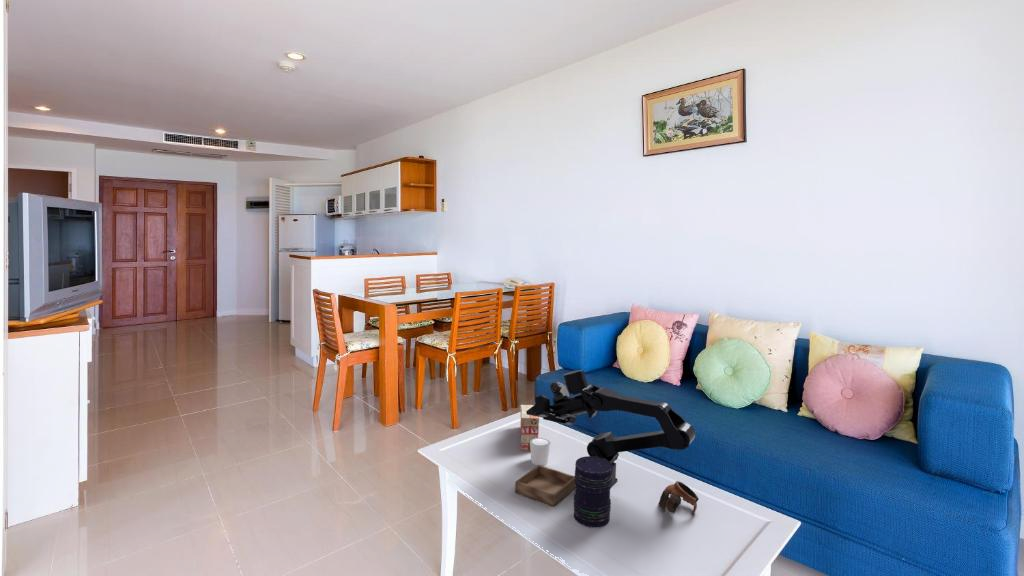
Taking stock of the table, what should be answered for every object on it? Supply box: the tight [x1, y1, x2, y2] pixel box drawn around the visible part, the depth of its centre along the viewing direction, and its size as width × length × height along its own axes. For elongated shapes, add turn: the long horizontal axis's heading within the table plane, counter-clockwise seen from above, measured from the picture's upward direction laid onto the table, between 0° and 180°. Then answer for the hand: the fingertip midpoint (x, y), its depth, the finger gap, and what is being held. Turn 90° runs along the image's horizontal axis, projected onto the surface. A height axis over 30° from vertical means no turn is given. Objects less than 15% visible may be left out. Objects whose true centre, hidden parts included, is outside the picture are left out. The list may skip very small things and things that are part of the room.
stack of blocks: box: [519, 404, 540, 452], centre depth 184 cm, size 21×6×12 cm, turn 179°
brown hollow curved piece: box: [658, 480, 699, 515], centre depth 137 cm, size 12×10×8 cm
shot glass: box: [530, 437, 551, 466], centre depth 165 cm, size 7×7×7 cm
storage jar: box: [573, 455, 612, 529], centre depth 133 cm, size 10×10×15 cm
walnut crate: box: [514, 465, 576, 508], centre depth 147 cm, size 13×13×4 cm
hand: (535, 415), depth 165 cm, fingers open, 9 cm apart
